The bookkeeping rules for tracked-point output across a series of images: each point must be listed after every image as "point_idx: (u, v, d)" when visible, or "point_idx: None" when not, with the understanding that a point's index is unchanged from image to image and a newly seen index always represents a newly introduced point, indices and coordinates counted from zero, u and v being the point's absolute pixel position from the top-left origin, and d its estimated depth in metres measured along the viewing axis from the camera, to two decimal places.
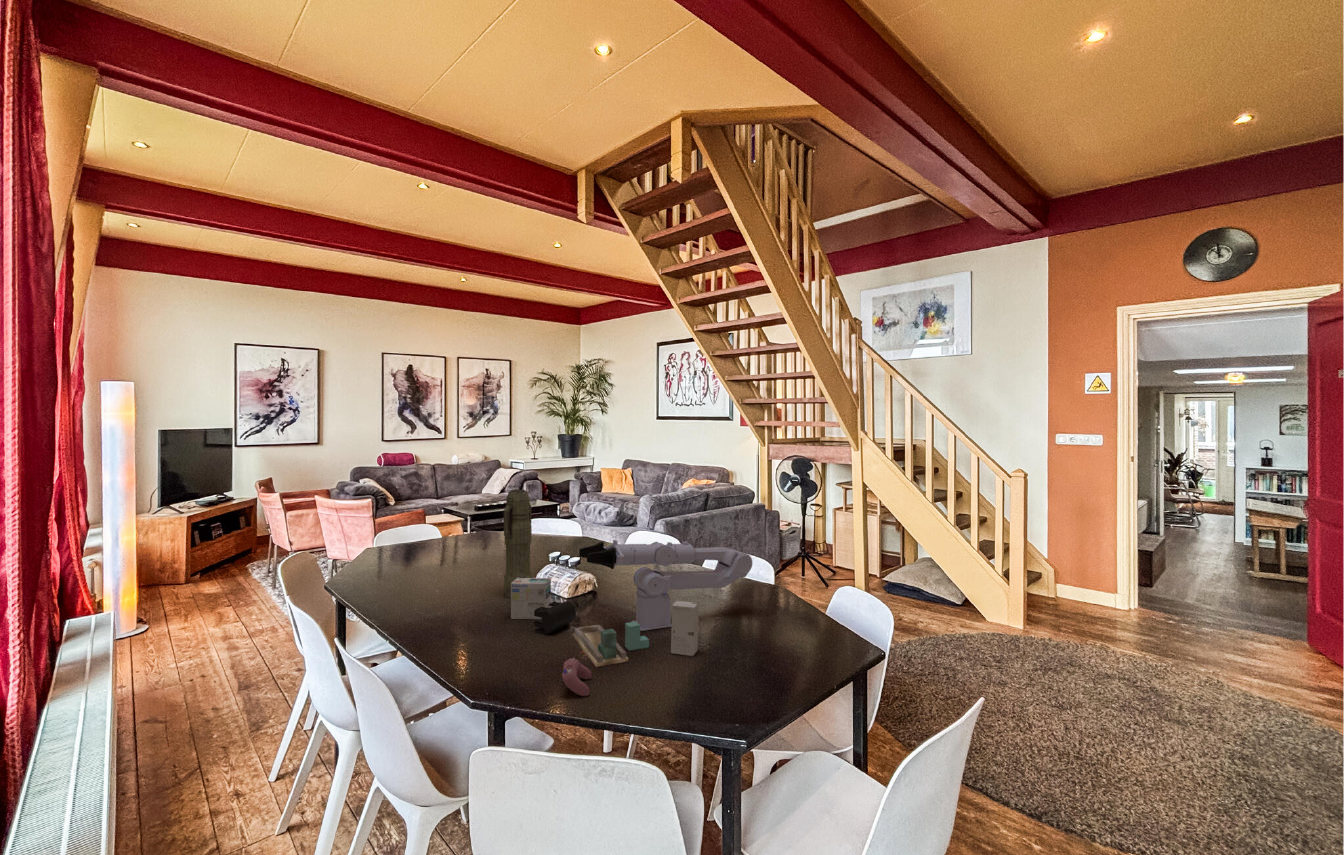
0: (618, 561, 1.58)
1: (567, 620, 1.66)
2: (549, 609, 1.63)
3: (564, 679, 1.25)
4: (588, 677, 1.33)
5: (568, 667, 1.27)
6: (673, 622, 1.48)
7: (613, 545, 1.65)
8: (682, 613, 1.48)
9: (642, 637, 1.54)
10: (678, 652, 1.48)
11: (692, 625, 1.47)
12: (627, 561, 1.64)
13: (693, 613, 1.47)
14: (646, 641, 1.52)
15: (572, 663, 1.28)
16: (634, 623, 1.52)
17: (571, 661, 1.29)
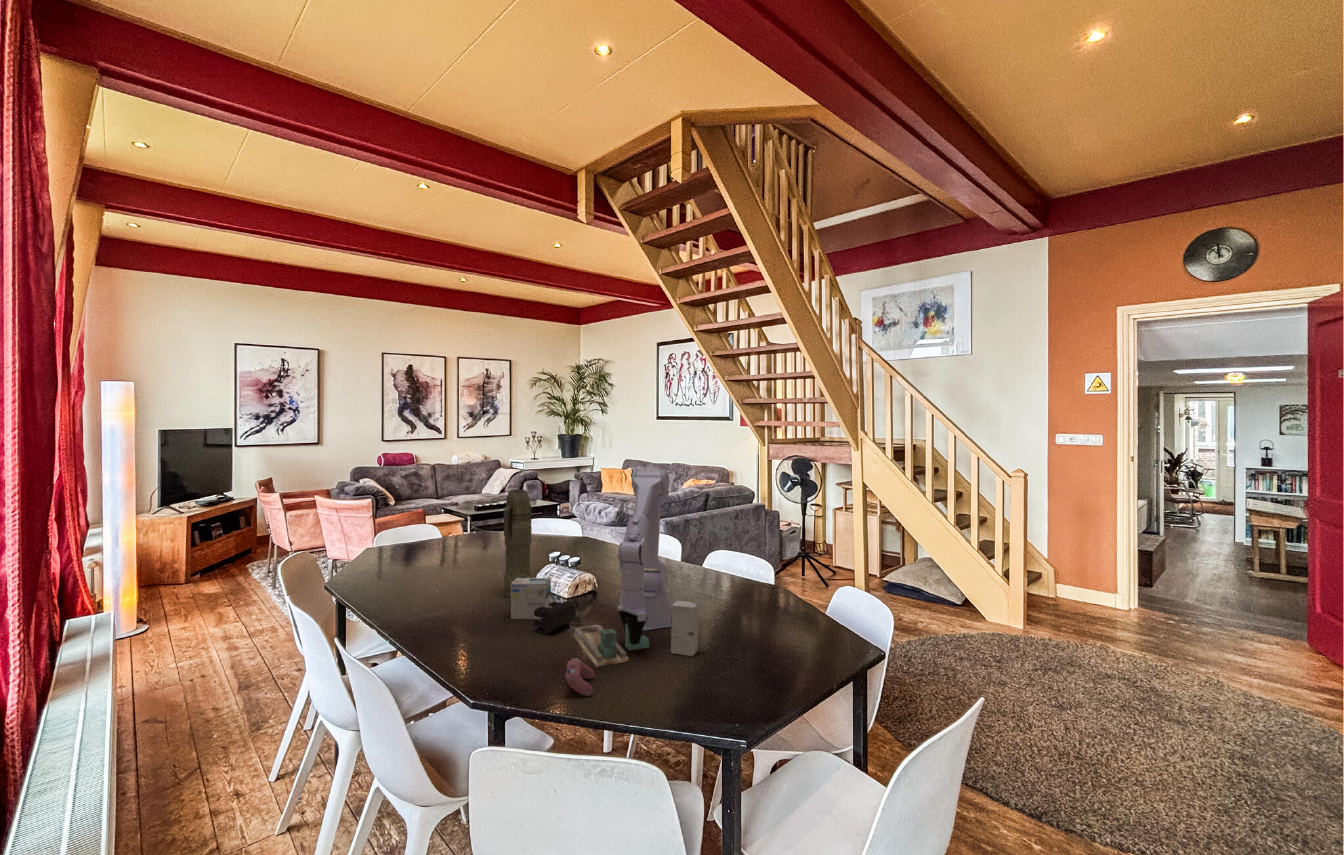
0: (644, 619, 1.46)
1: (567, 620, 1.66)
2: (549, 609, 1.63)
3: (567, 679, 1.25)
4: (591, 677, 1.33)
5: (571, 667, 1.27)
6: (673, 622, 1.48)
7: None
8: (682, 613, 1.48)
9: (642, 637, 1.54)
10: (678, 652, 1.48)
11: (692, 625, 1.47)
12: (641, 596, 1.51)
13: (693, 613, 1.47)
14: (646, 641, 1.52)
15: (575, 663, 1.28)
16: None
17: (574, 661, 1.29)
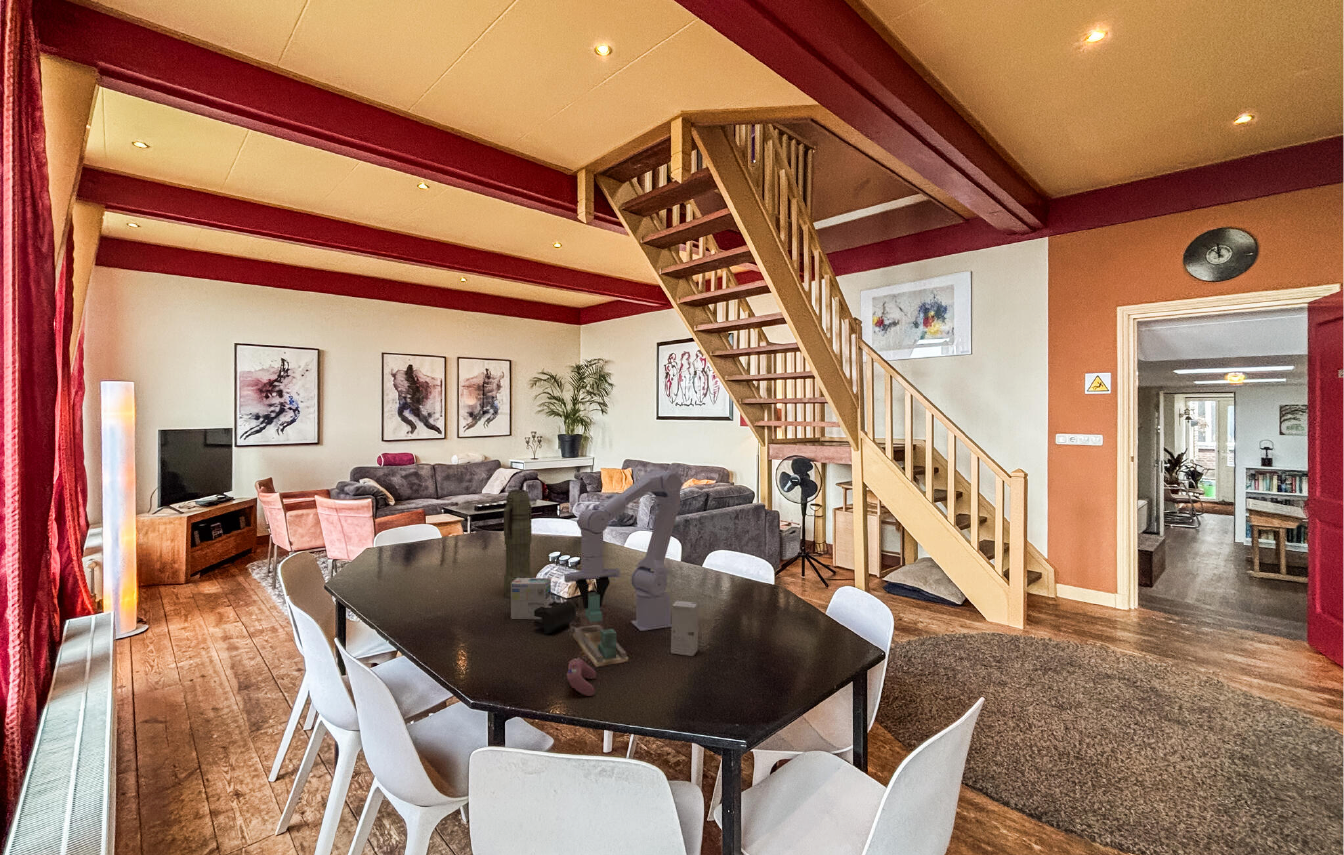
0: (565, 581, 1.54)
1: (567, 620, 1.66)
2: (549, 609, 1.63)
3: (569, 679, 1.25)
4: (593, 677, 1.33)
5: (573, 667, 1.27)
6: (673, 622, 1.48)
7: None
8: (682, 613, 1.48)
9: (597, 612, 1.55)
10: (678, 652, 1.48)
11: (692, 625, 1.47)
12: (584, 563, 1.55)
13: (693, 613, 1.47)
14: (590, 615, 1.54)
15: (577, 663, 1.28)
16: (592, 594, 1.57)
17: (576, 661, 1.29)
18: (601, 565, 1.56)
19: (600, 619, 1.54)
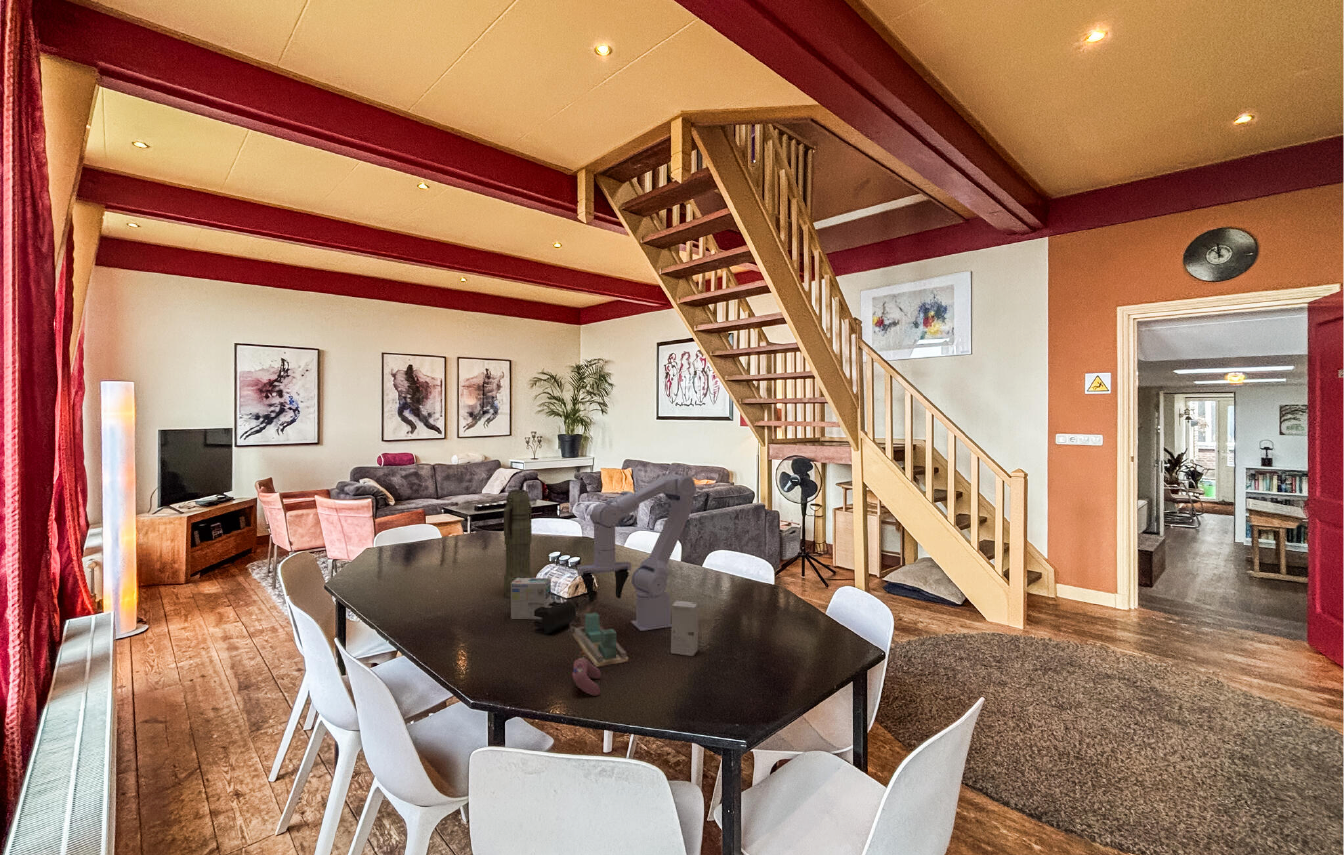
0: (578, 574, 1.58)
1: (567, 620, 1.66)
2: (549, 609, 1.63)
3: (574, 679, 1.25)
4: (597, 676, 1.33)
5: (578, 667, 1.28)
6: (673, 622, 1.48)
7: None
8: (682, 613, 1.48)
9: (597, 632, 1.55)
10: (678, 652, 1.48)
11: (692, 625, 1.47)
12: (597, 556, 1.59)
13: (693, 613, 1.47)
14: (590, 636, 1.54)
15: (582, 663, 1.29)
16: (592, 615, 1.57)
17: (581, 661, 1.29)
18: (613, 558, 1.60)
19: (600, 640, 1.54)
